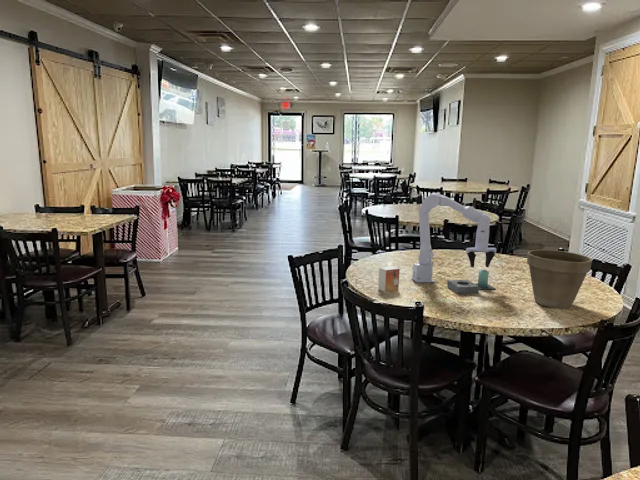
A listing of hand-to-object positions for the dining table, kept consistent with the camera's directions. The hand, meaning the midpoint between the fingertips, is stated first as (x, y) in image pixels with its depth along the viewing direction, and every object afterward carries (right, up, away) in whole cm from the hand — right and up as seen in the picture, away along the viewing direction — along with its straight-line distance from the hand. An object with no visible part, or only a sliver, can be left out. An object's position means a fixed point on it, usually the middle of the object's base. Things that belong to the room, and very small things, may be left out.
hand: (479, 266), depth 232 cm
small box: (-45, -11, -7) cm, 47 cm away
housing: (-10, -11, -5) cm, 15 cm away
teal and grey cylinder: (+2, -9, 0) cm, 9 cm away
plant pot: (+25, -15, -22) cm, 36 cm away
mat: (+1, -10, 0) cm, 10 cm away
